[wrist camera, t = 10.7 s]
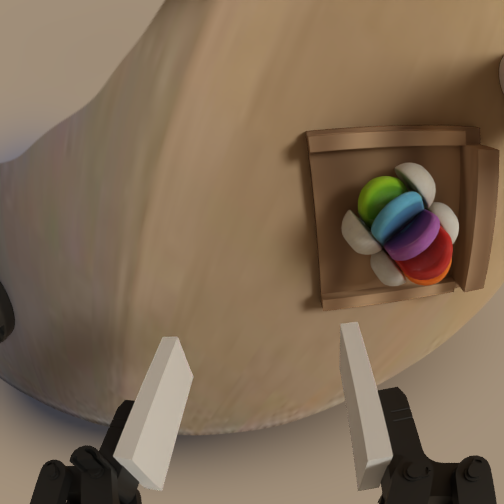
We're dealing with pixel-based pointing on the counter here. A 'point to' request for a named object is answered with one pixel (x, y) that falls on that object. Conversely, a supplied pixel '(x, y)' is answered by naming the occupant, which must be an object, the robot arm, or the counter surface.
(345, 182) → the square wooden tray
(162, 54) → the counter surface
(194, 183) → the counter surface
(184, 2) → the counter surface
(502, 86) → the coffee cup
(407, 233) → the rainbow disc rattle
